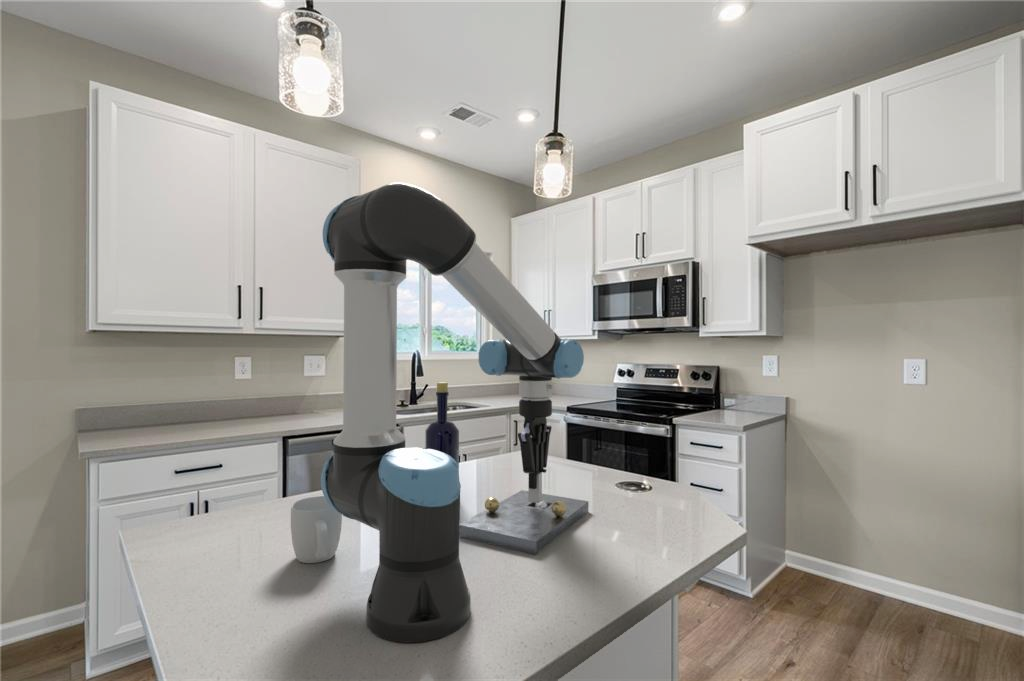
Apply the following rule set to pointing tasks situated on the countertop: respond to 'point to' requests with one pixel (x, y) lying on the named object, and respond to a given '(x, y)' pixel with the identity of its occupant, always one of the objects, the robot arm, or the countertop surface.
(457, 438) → the bottle
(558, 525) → the plate
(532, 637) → the countertop surface
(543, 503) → the steel ball
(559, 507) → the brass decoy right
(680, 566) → the countertop surface
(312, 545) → the mug
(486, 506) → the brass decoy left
